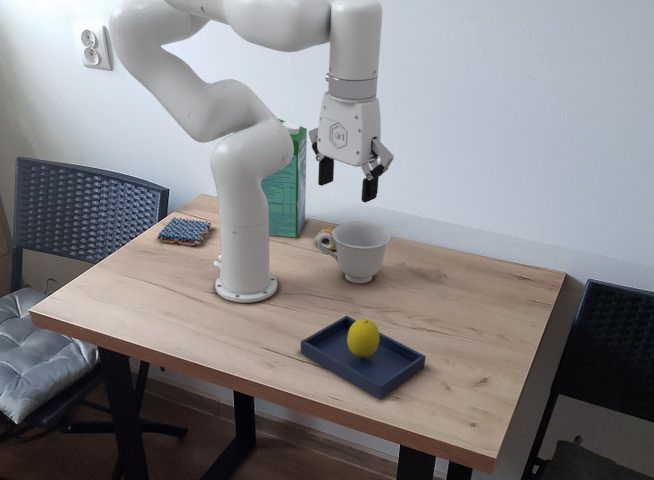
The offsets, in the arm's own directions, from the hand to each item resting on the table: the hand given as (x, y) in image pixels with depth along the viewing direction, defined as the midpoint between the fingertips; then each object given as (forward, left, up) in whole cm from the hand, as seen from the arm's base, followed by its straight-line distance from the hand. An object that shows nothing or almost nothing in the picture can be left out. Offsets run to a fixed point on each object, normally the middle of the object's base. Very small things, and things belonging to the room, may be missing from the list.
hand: (346, 191), depth 119 cm
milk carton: (-37, +21, -26) cm, 50 cm away
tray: (+11, -6, -26) cm, 29 cm away
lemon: (+11, -6, -26) cm, 29 cm away
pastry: (-23, +24, -26) cm, 43 cm away
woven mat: (-50, +2, -26) cm, 56 cm away
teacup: (-10, +15, -26) cm, 32 cm away
